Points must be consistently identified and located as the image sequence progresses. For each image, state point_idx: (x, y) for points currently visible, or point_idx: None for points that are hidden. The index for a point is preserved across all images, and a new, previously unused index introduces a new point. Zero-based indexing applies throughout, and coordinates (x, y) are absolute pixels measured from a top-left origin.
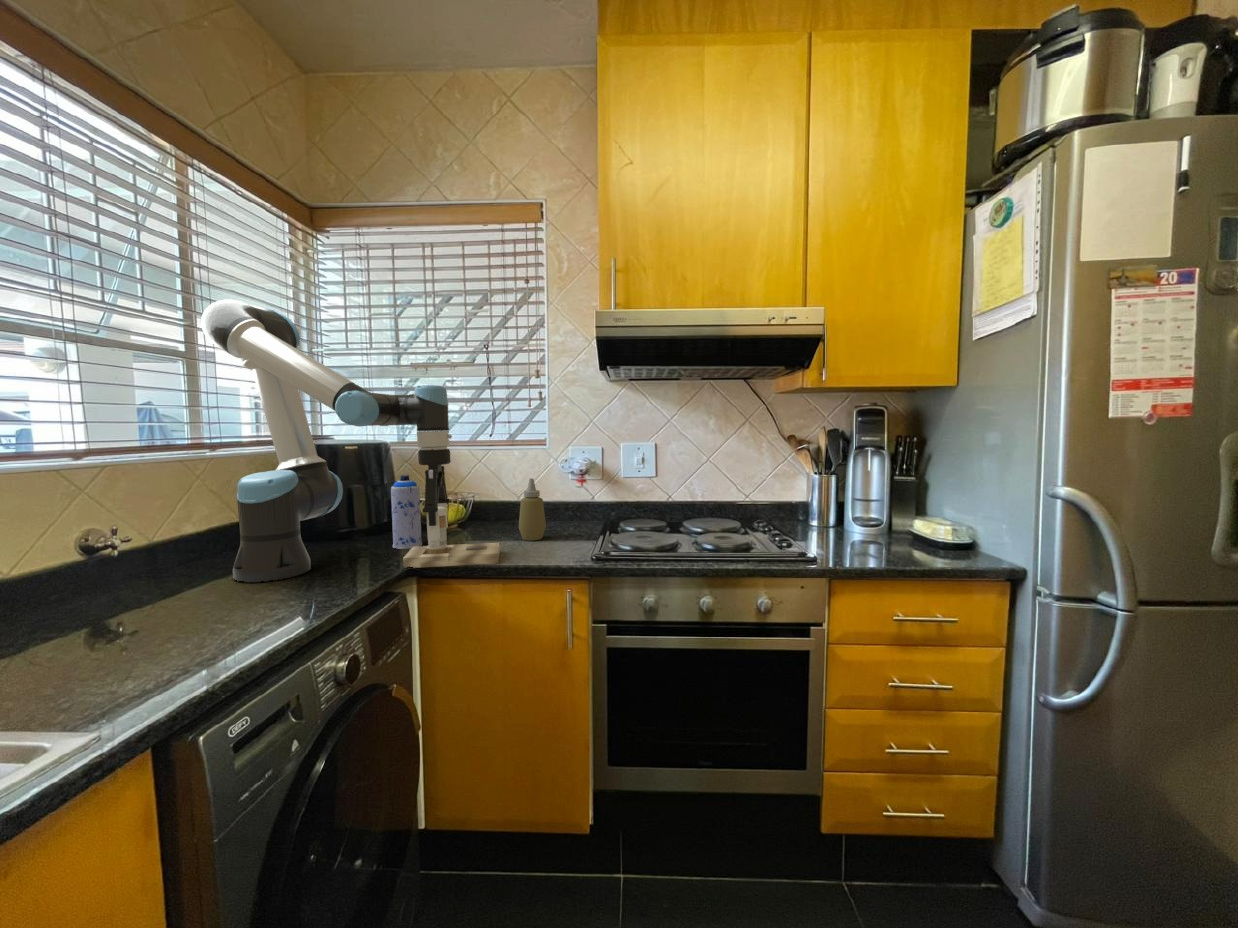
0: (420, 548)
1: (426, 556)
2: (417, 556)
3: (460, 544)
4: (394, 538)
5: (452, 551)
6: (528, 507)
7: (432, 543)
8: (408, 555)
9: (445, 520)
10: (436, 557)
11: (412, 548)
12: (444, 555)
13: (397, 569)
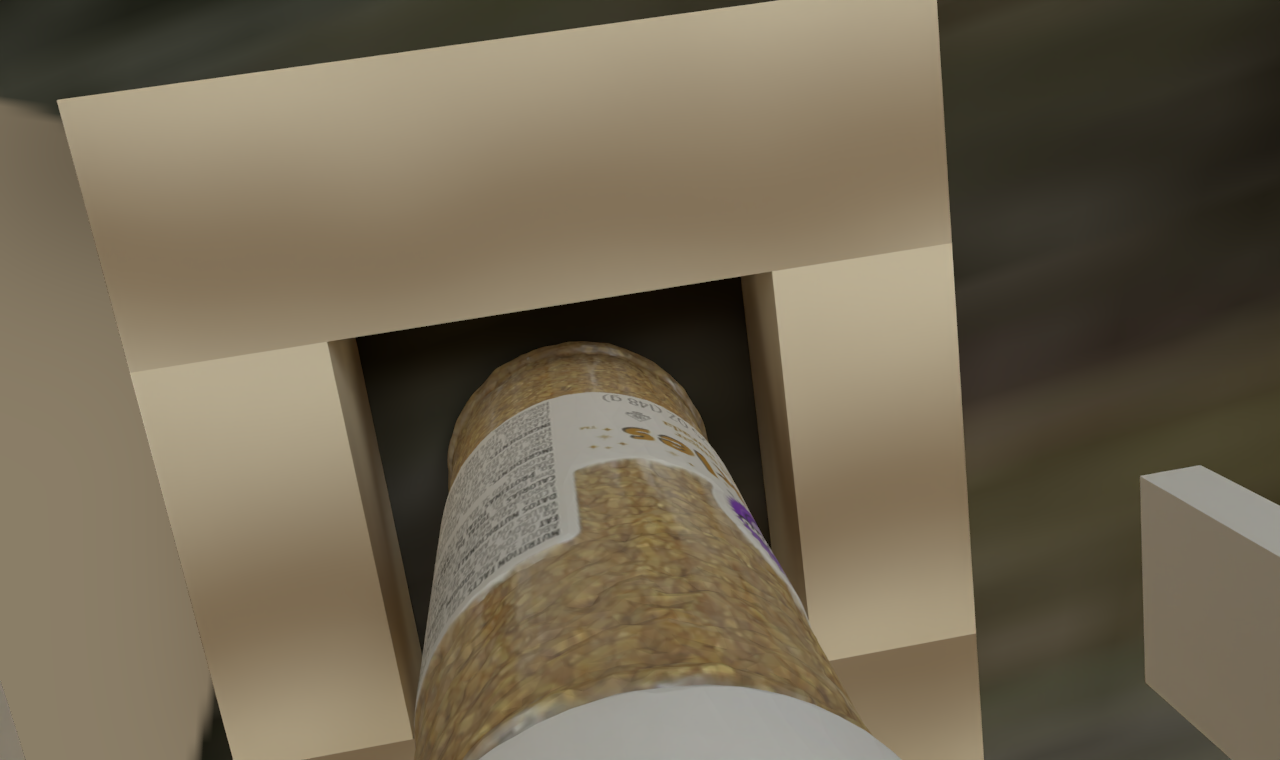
0: (774, 169)
1: (186, 466)
2: (185, 316)
3: (972, 723)
4: None
5: None
6: None
7: (438, 543)
8: (253, 131)
9: (1247, 746)
10: (198, 611)
11: (792, 17)
12: (255, 717)
13: (62, 18)
